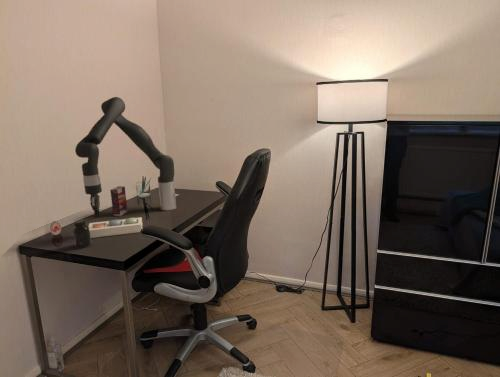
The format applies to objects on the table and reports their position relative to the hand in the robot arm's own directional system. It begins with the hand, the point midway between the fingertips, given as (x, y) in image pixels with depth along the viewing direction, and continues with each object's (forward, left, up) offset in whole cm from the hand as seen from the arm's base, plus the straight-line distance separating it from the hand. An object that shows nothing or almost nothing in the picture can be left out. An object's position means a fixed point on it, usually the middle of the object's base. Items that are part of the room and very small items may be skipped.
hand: (97, 216), depth 179 cm
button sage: (-16, 0, -6) cm, 17 cm away
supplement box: (-8, -31, -9) cm, 33 cm away
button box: (-8, 0, -9) cm, 12 cm away
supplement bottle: (+5, +15, -9) cm, 18 cm away
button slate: (-8, 0, -6) cm, 10 cm away
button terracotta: (0, 0, -7) cm, 8 cm away
